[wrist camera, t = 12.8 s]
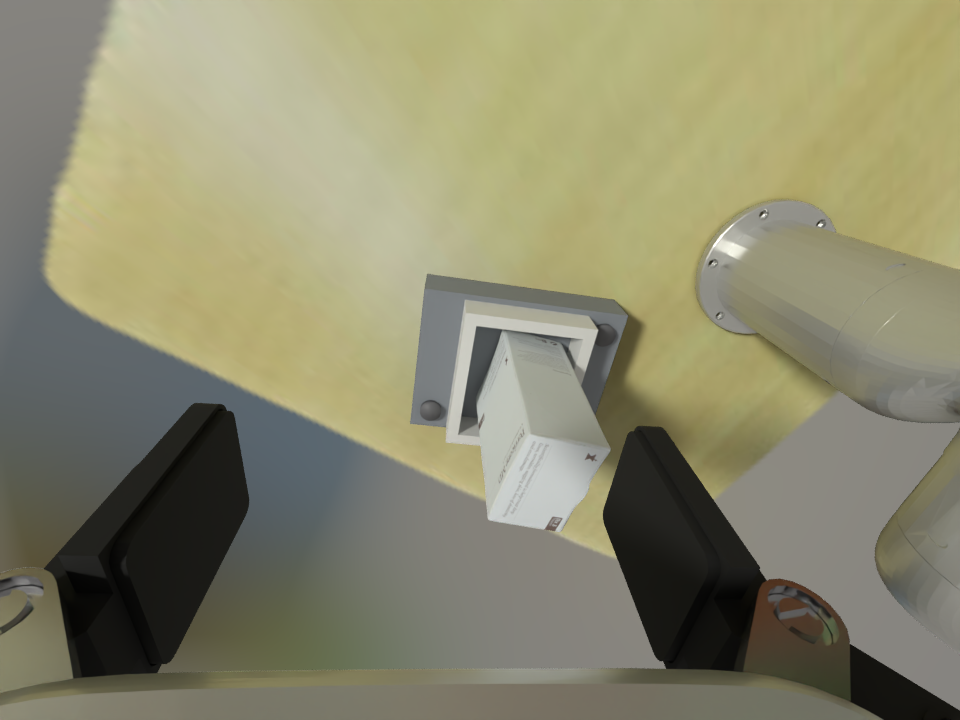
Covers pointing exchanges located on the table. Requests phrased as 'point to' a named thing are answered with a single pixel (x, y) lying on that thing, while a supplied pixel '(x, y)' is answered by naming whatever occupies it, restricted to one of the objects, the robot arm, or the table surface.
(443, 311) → the grey box holder
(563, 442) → the skincare box
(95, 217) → the table surface
